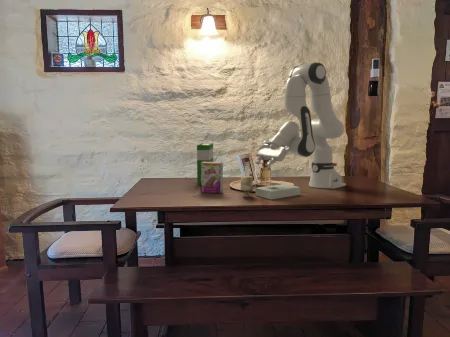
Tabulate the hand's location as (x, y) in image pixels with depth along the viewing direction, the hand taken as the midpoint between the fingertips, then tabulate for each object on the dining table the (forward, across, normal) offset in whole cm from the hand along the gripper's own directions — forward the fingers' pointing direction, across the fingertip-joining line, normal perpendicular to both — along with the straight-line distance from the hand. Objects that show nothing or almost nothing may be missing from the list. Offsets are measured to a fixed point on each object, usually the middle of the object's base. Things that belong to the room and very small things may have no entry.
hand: (262, 164), depth 198 cm
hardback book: (+16, +48, -6) cm, 51 cm away
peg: (+18, 0, -4) cm, 18 cm away
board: (+7, -6, -15) cm, 18 cm away
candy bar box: (+25, +18, +3) cm, 31 cm away
